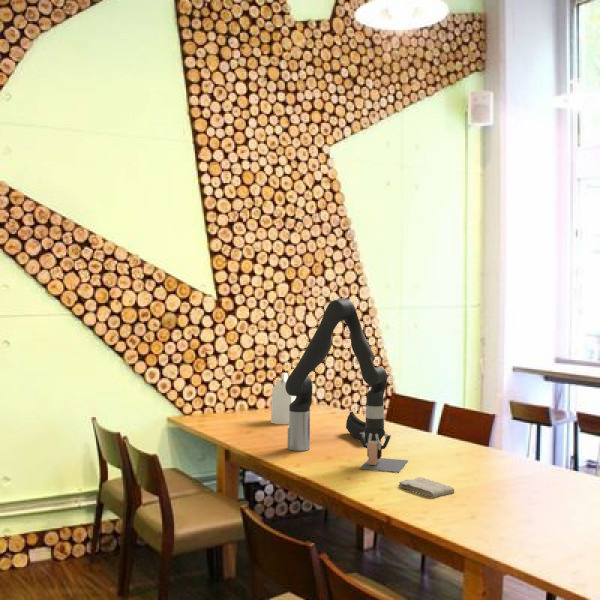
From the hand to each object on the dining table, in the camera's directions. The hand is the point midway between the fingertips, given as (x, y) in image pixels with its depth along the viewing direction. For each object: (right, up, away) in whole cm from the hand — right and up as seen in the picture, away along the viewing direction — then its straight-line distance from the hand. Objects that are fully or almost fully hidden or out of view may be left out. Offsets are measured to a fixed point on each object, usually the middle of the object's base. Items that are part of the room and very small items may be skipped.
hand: (374, 458), depth 300 cm
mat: (+4, -3, -1) cm, 5 cm away
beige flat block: (0, -2, 0) cm, 2 cm away
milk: (-39, -1, +91) cm, 99 cm away
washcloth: (+15, -4, -37) cm, 40 cm away
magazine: (-2, -2, +49) cm, 49 cm away
